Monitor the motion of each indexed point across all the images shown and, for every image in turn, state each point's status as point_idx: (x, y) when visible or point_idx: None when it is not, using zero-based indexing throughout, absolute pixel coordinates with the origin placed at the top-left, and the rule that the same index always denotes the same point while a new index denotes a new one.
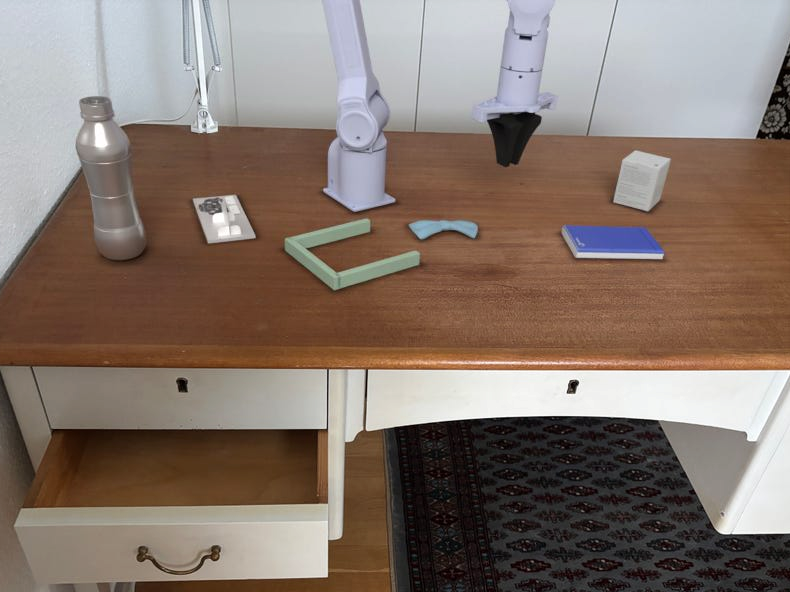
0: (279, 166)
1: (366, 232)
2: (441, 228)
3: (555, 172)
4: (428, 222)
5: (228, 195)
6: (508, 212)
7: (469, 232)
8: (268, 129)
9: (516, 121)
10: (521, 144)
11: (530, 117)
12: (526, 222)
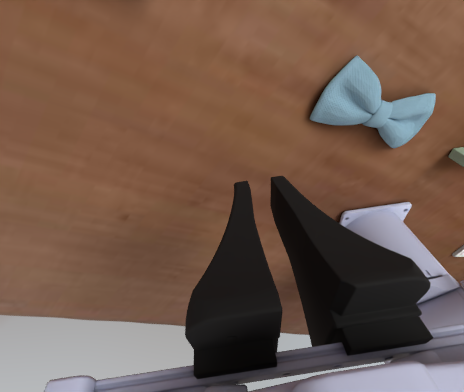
0: None
1: (460, 147)
2: (393, 104)
3: (40, 237)
4: (400, 127)
5: (460, 256)
6: (210, 135)
7: (364, 68)
8: (307, 333)
9: (354, 304)
10: (254, 221)
11: (262, 327)
12: (203, 81)
